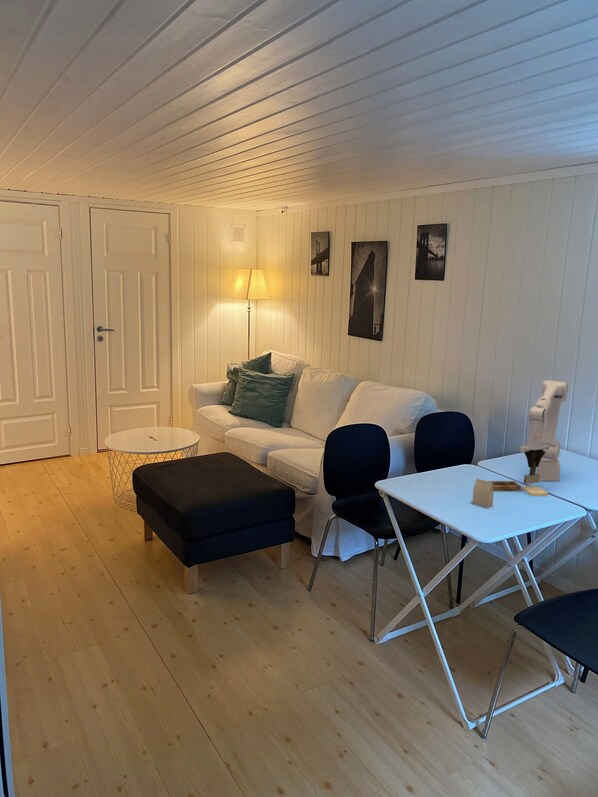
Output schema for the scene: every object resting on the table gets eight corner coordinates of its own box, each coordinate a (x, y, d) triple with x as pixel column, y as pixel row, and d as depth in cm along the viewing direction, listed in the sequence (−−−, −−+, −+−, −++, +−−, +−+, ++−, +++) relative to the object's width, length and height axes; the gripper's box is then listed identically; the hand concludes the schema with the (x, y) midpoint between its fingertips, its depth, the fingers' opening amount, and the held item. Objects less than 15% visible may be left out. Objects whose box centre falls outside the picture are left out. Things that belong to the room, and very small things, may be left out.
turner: (537, 481, 262) (539, 460, 260) (539, 482, 261) (541, 461, 259) (523, 483, 260) (526, 461, 258) (525, 484, 259) (528, 462, 257)
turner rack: (513, 485, 267) (514, 480, 266) (520, 491, 260) (521, 486, 259) (486, 485, 266) (486, 481, 265) (492, 491, 259) (492, 486, 258)
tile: (537, 485, 262) (547, 493, 254) (537, 489, 263) (547, 497, 254) (521, 486, 262) (531, 493, 253) (521, 490, 262) (531, 497, 253)
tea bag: (487, 508, 239) (489, 483, 238) (472, 503, 244) (474, 479, 242) (492, 505, 242) (494, 481, 240) (477, 501, 247) (478, 477, 245)
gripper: (542, 431, 263) (539, 462, 265) (515, 434, 257) (512, 466, 260) (554, 435, 256) (551, 467, 259) (528, 439, 251) (525, 470, 253)
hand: (533, 467), depth 259 cm, fingers closed on turner, 2 cm apart
